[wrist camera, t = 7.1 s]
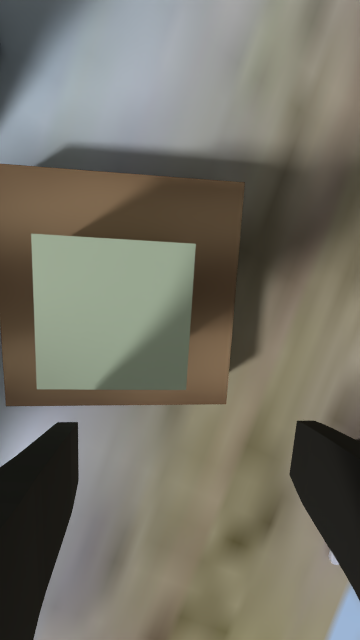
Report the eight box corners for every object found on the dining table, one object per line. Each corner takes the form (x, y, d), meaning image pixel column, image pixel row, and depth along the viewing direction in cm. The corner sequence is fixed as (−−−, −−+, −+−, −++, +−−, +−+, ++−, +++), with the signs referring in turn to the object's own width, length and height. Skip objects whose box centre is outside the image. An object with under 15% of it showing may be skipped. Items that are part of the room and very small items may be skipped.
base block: (213, 381, 20) (225, 404, 17) (26, 381, 19) (5, 406, 16) (227, 192, 18) (244, 182, 15) (15, 177, 17) (-11, 162, 14)
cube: (172, 347, 16) (185, 389, 12) (68, 345, 16) (36, 389, 11) (178, 244, 15) (195, 243, 10) (67, 238, 15) (31, 233, 10)
